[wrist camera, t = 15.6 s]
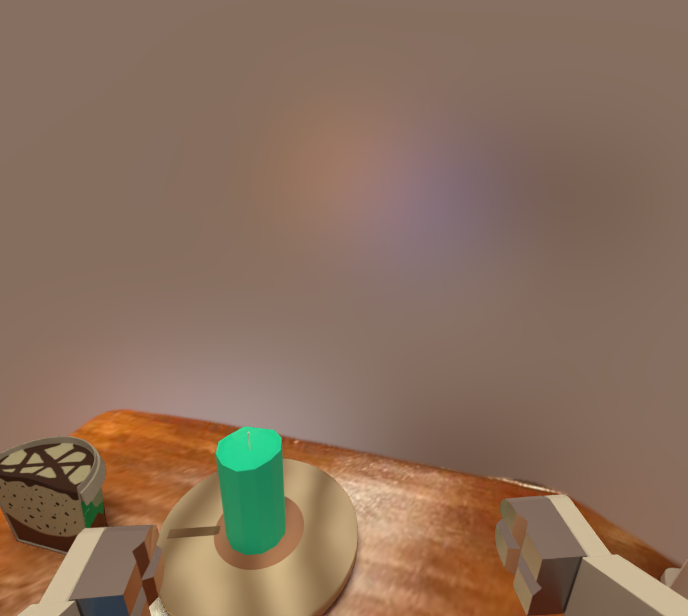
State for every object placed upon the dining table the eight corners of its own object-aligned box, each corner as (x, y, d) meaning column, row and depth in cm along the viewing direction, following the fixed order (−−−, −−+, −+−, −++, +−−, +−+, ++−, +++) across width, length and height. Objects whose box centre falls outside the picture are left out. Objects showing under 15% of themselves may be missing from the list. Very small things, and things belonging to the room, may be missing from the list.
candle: (298, 525, 43) (295, 429, 38) (252, 567, 39) (242, 466, 34) (260, 495, 46) (253, 404, 42) (214, 531, 42) (200, 434, 38)
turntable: (347, 463, 53) (347, 453, 53) (371, 635, 35) (372, 623, 34) (185, 472, 51) (184, 462, 51) (121, 659, 33) (117, 647, 32)
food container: (146, 515, 47) (130, 443, 43) (104, 565, 41) (82, 488, 38) (55, 493, 50) (33, 424, 46) (5, 538, 44) (-25, 463, 40)
